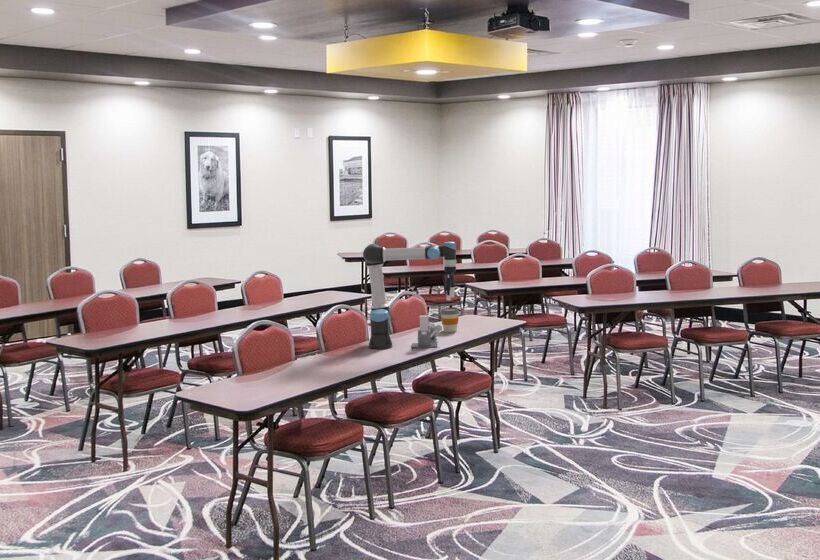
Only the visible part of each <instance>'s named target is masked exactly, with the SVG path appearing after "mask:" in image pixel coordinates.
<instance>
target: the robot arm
mask: <svg viewBox="0 0 820 560" xmlns="http://www.w3.org/2000/svg"><path fill="white" fill-rule="evenodd" d="M362 258H363V260H364V261H365V267H366V268H368V273H369V274H368V275H369V283H370V289H371V298H372V306H371V307H370V308H371V311H369V320H370V337H369V342H368V348H369V349H372V350H385V349H390V348H392V347H393V341H392V338H391V336H390V322H391V319H392V314H391V310H390V305H389V304H388V303H387V298H386V291H385V290H386V289H385V283H384V274H383V273H384V272H383V266H384V264H385V262H386V261H407V260H410V261H411V260H432V261H433V260H434V261H435V260H437V259H438V258H443V266H444V269H443V270H444V273H445V274H446V273H447V274H446V282H445V288H444V290H445V294H446V301H451V300H452V298H455V288H456V286H457V285H456V283H455V281H456V280H455V273H456V272H457V267H456V266H457V263H458V262H457V246H456V242H454V241H444V243H443V245H442V244H440V245H437V244H435V245H431V244H428V245H426V246H425V247H424V246H423V247H397V248H396V247H392V248H390V247H389V248H385V246H380V245H379V244H377V243H370V244H368V245H367V246H366V247H365V248H364V249H363V251H362Z"/></svg>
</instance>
